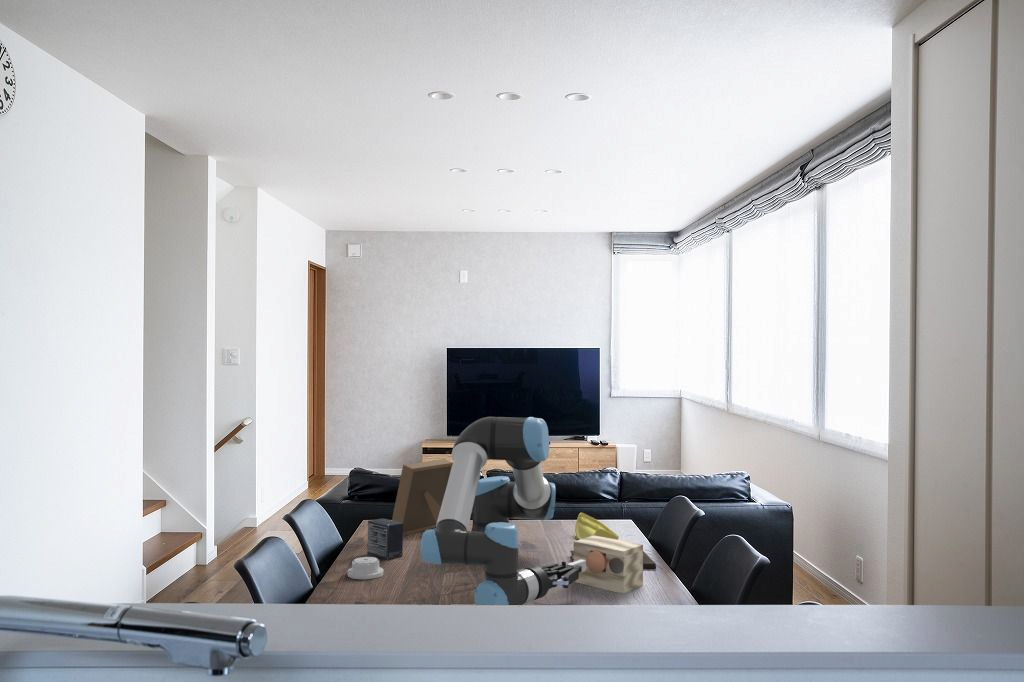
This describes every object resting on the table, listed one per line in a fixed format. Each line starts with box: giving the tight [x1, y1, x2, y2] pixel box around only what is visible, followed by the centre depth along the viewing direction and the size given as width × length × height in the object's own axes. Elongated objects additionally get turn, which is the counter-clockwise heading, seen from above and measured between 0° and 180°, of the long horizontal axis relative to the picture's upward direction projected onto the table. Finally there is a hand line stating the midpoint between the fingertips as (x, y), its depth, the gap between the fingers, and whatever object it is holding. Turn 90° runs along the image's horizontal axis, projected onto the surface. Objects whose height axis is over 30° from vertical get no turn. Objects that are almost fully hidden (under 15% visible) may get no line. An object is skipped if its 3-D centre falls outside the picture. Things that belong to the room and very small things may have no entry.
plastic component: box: [574, 512, 620, 540], centre depth 253 cm, size 20×7×10 cm
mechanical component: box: [347, 556, 384, 580], centre depth 207 cm, size 10×4×10 cm
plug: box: [586, 551, 607, 573], centre depth 201 cm, size 12×6×6 cm, turn 140°
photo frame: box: [391, 458, 453, 537], centre depth 259 cm, size 15×22×25 cm
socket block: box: [573, 535, 644, 595], centre depth 201 cm, size 11×16×11 cm
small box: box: [366, 517, 404, 560], centre depth 228 cm, size 11×6×10 cm, turn 47°
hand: (583, 565), depth 192 cm, fingers closed
